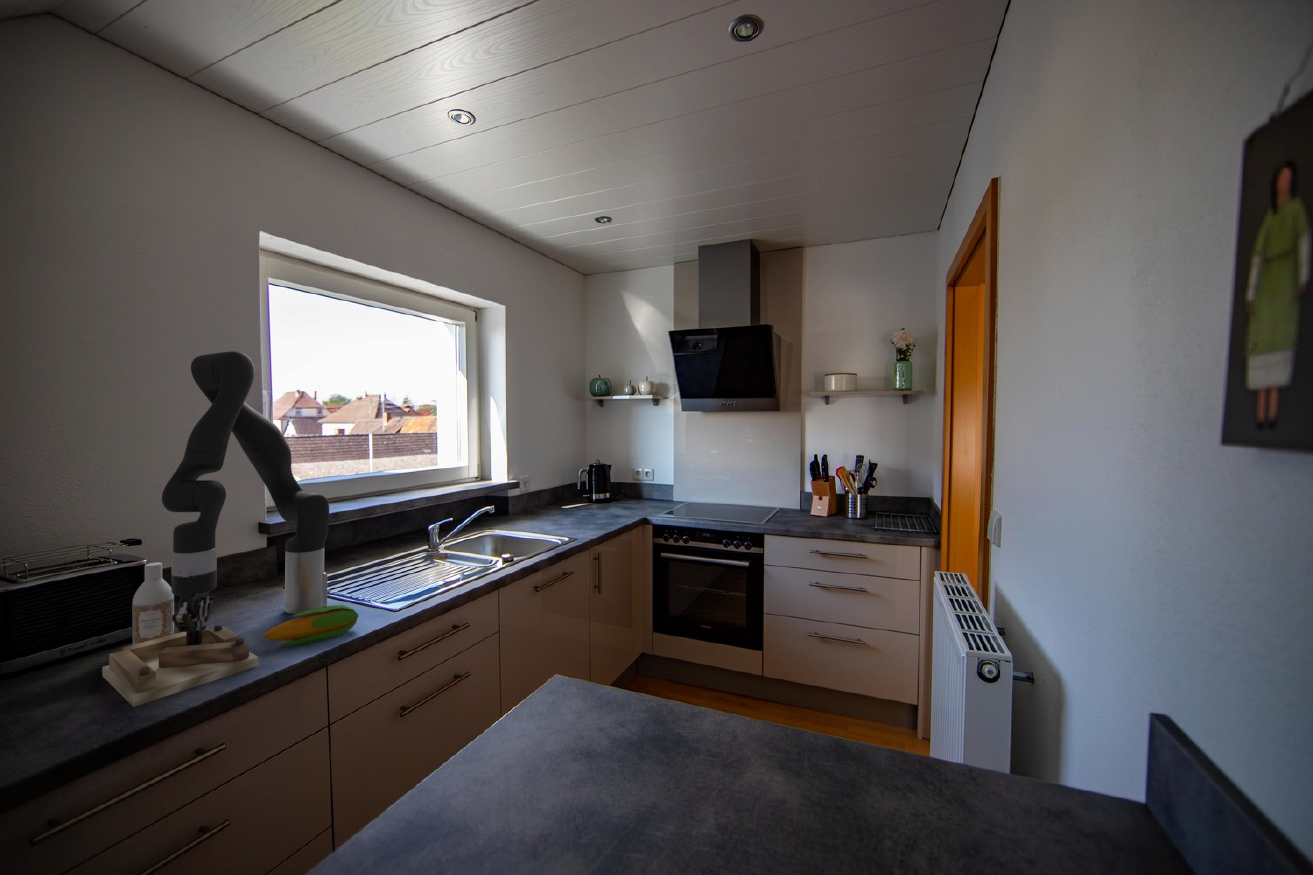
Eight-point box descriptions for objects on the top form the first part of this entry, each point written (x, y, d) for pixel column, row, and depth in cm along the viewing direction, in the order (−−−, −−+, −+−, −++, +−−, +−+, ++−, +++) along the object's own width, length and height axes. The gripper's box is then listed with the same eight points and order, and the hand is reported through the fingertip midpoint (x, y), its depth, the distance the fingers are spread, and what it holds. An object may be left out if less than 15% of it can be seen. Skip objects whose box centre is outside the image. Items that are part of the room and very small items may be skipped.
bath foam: (128, 658, 117) (128, 570, 116) (137, 646, 122) (136, 562, 122) (170, 651, 120) (170, 566, 120) (176, 640, 126) (176, 558, 125)
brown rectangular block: (251, 653, 116) (251, 634, 116) (245, 659, 113) (245, 640, 113) (166, 660, 112) (166, 641, 112) (158, 667, 109) (158, 648, 108)
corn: (362, 603, 134) (265, 623, 120) (362, 633, 134) (265, 656, 120) (354, 598, 139) (260, 616, 125) (354, 626, 139) (260, 647, 125)
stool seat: (220, 642, 126) (221, 618, 126) (258, 665, 115) (258, 639, 115) (102, 676, 109) (102, 647, 109) (133, 706, 98) (133, 675, 98)
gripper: (189, 562, 121) (189, 635, 122) (155, 579, 108) (155, 661, 109) (228, 560, 123) (228, 632, 124) (199, 577, 111) (199, 657, 111)
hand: (194, 646), depth 116 cm, fingers closed
